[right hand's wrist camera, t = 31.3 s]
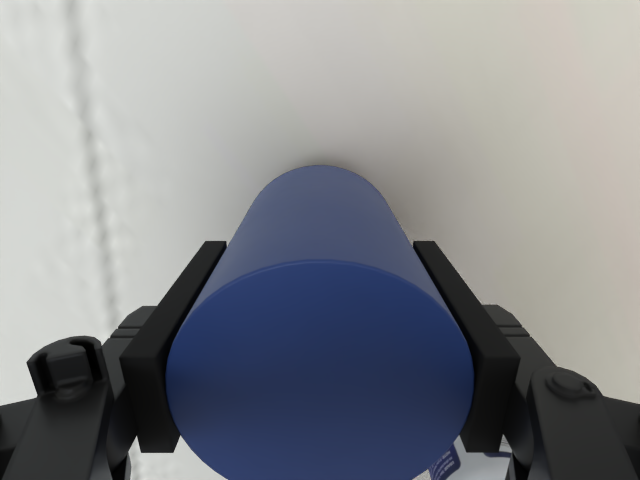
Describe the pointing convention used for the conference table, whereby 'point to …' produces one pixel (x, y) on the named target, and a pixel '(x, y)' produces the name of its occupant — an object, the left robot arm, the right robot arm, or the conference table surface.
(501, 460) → the pill bottle
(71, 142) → the conference table surface
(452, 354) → the can
